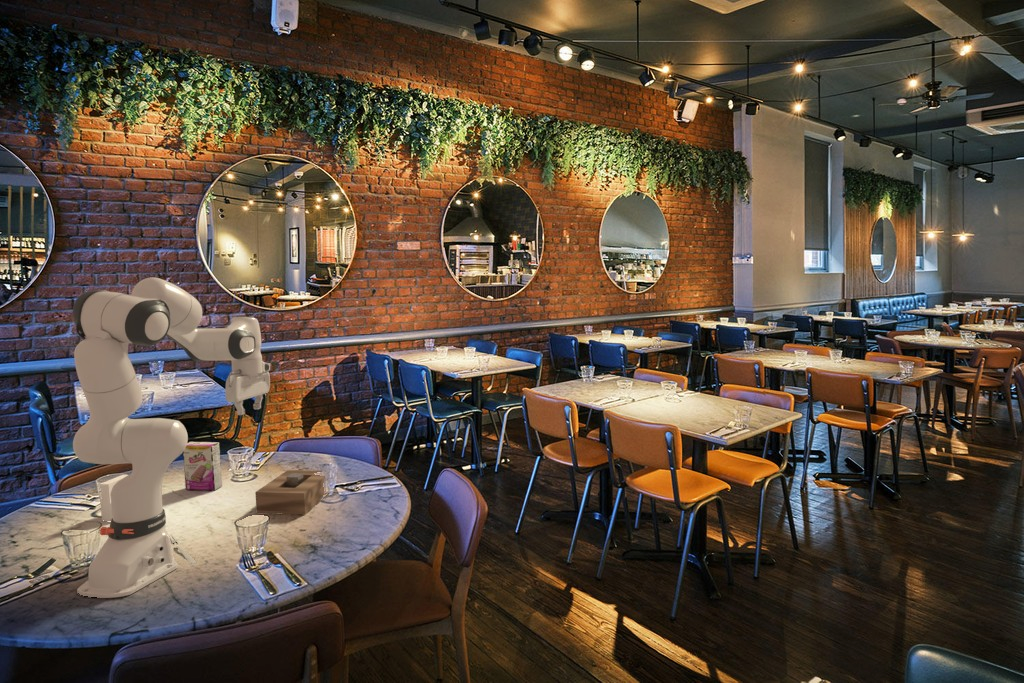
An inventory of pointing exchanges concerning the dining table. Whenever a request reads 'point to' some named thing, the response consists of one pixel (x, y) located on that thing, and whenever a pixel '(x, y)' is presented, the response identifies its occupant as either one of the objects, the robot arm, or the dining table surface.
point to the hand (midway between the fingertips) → (249, 411)
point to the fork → (184, 552)
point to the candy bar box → (202, 466)
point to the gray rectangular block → (294, 480)
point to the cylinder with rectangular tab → (108, 497)
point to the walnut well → (290, 494)
